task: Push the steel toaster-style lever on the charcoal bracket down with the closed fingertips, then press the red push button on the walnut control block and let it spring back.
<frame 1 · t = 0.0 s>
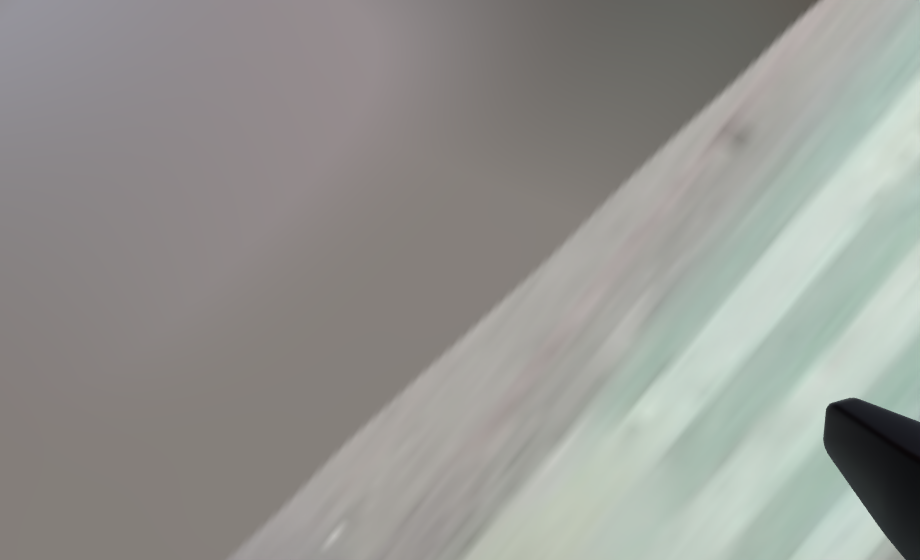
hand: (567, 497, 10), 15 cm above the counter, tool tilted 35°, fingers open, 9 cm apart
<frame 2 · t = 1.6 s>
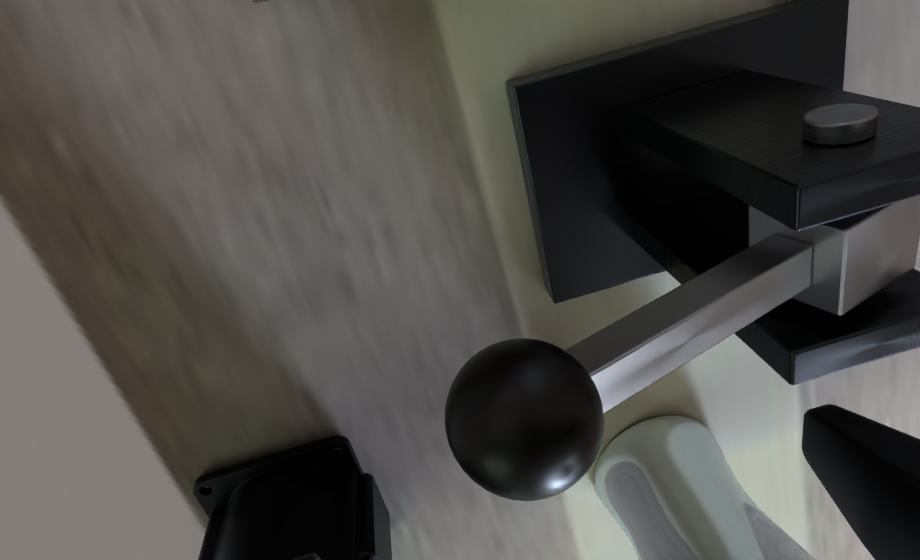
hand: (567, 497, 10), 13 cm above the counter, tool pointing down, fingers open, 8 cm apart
toaster bracket: (673, 152, 21), on the counter
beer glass: (652, 462, 28), on the counter
toaster lever: (693, 317, 13), point 9 cm above the counter, hinge at 19.2°
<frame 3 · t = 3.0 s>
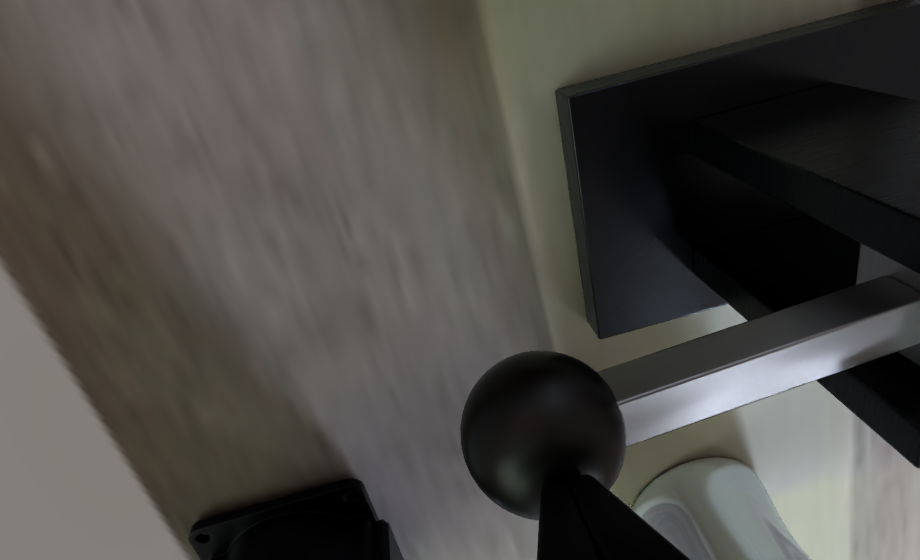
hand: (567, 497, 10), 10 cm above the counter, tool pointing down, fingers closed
toaster bracket: (737, 172, 19), on the counter
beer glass: (691, 505, 26), on the counter
toaster lever: (759, 357, 11), point 8 cm above the counter, hinge at 4.3°, touching gripper
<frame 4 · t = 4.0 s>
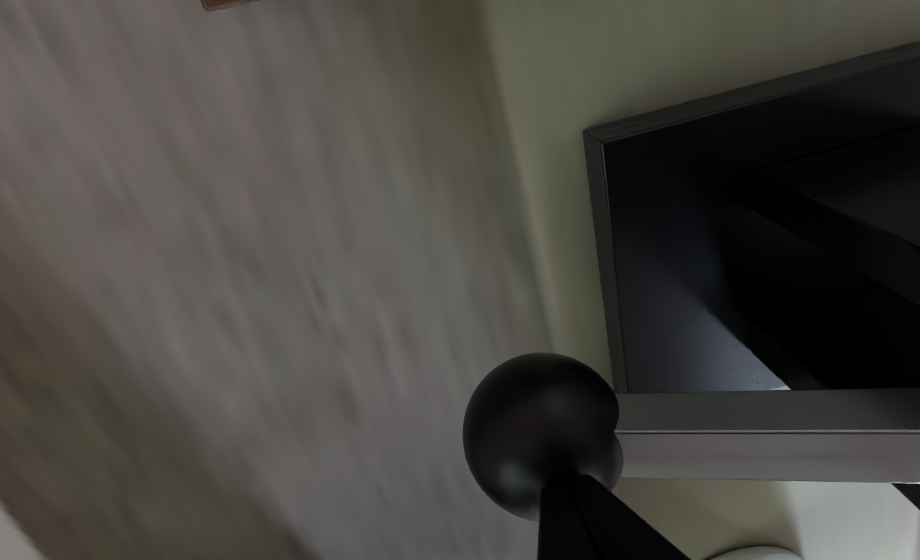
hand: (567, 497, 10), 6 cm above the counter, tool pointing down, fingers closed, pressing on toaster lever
toaster bracket: (804, 226, 15), on the counter
toaster lever: (816, 434, 10), point 6 cm above the counter, hinge at -22.2°, touching gripper
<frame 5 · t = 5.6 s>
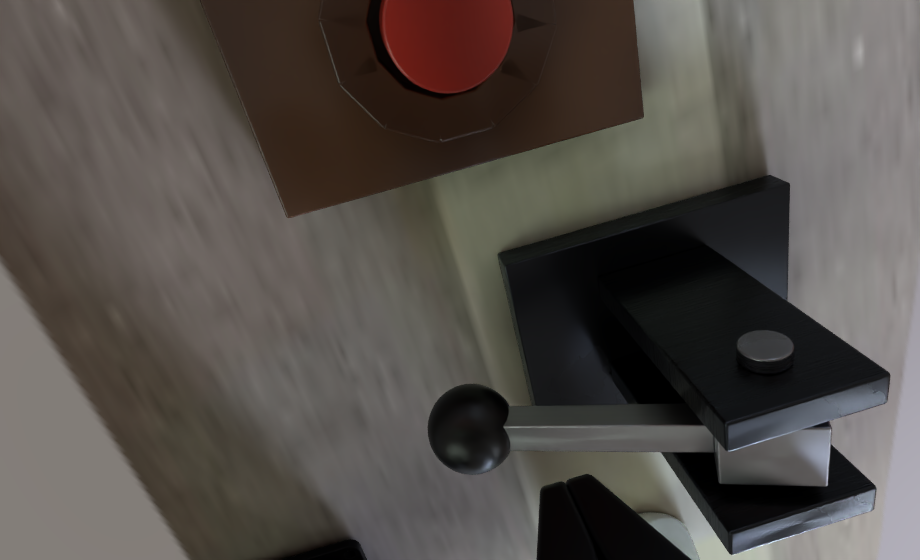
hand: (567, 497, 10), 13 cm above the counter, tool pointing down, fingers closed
control block: (426, 17, 19), on the counter
red push button: (444, 23, 15), point 4 cm above the counter, slide at 0.1 cm
toaster bracket: (644, 301, 24), on the counter
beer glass: (632, 550, 31), on the counter
toaster lever: (605, 427, 19), point 6 cm above the counter, hinge at -23.8°
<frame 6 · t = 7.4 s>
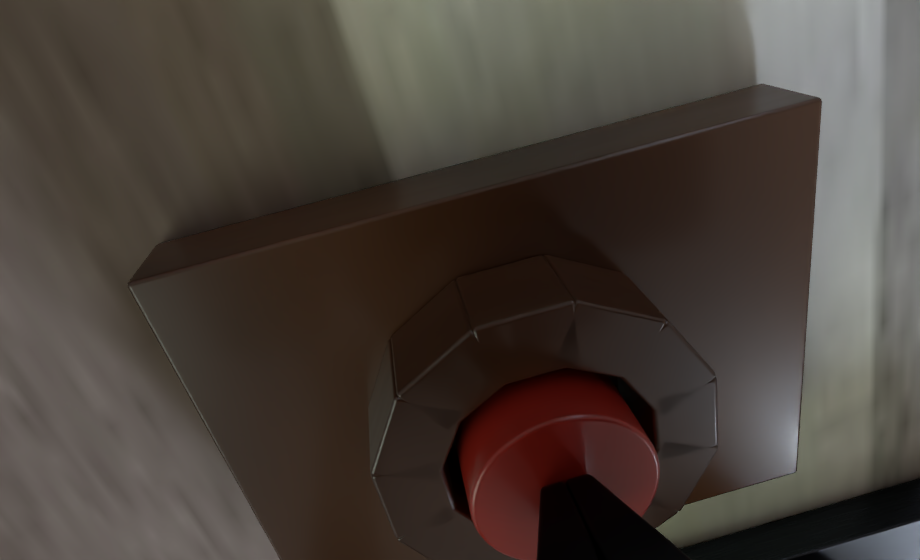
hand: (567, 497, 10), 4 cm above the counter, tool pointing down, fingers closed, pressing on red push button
control block: (507, 350, 13), on the counter
red push button: (552, 457, 10), point 3 cm above the counter, slide at -0.5 cm, touching gripper
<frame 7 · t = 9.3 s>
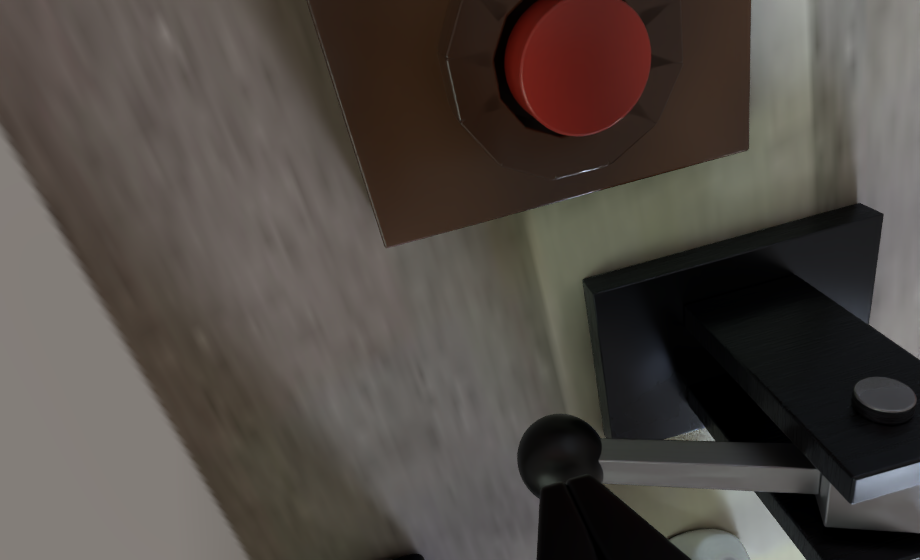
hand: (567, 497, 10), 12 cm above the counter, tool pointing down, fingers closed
control block: (532, 45, 18), on the counter
red push button: (574, 63, 15), point 4 cm above the counter, slide at 0.1 cm
toaster bracket: (722, 326, 24), on the counter
toaster lever: (702, 464, 19), point 6 cm above the counter, hinge at -23.8°
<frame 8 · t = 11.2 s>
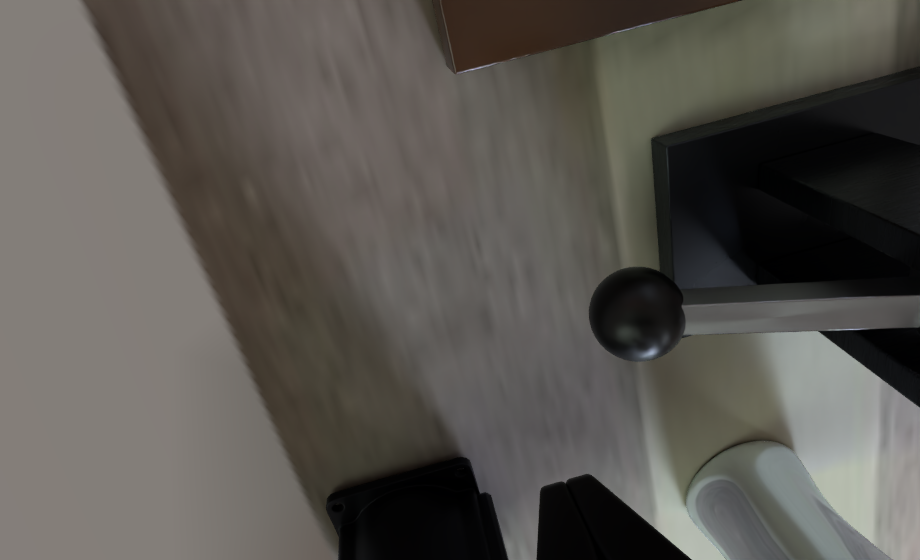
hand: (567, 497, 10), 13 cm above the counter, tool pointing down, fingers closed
toaster bracket: (792, 202, 23), on the counter
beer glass: (739, 483, 30), on the counter
toaster lever: (795, 307, 17), point 6 cm above the counter, hinge at -23.8°
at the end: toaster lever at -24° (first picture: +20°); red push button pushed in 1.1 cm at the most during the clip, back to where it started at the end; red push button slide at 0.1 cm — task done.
